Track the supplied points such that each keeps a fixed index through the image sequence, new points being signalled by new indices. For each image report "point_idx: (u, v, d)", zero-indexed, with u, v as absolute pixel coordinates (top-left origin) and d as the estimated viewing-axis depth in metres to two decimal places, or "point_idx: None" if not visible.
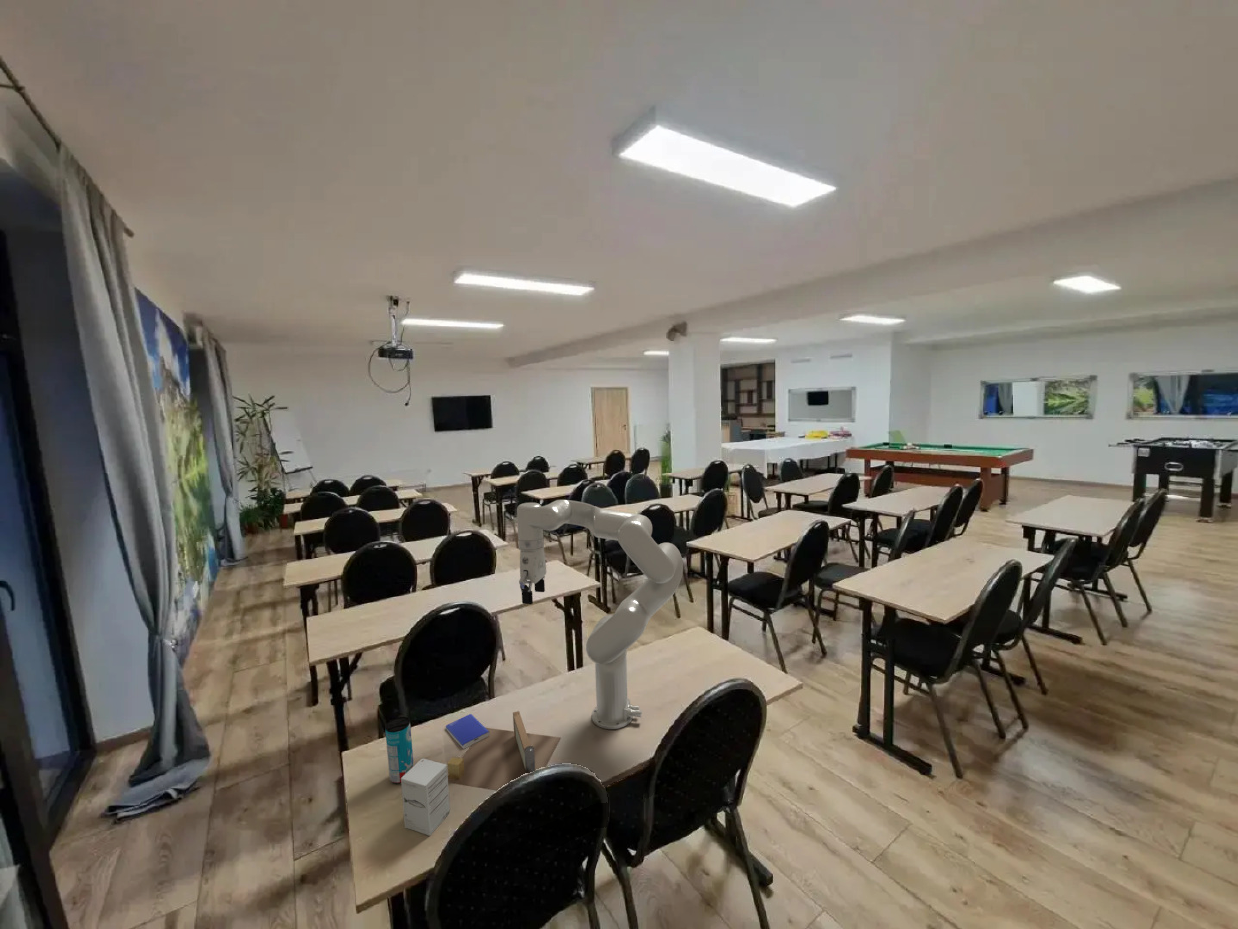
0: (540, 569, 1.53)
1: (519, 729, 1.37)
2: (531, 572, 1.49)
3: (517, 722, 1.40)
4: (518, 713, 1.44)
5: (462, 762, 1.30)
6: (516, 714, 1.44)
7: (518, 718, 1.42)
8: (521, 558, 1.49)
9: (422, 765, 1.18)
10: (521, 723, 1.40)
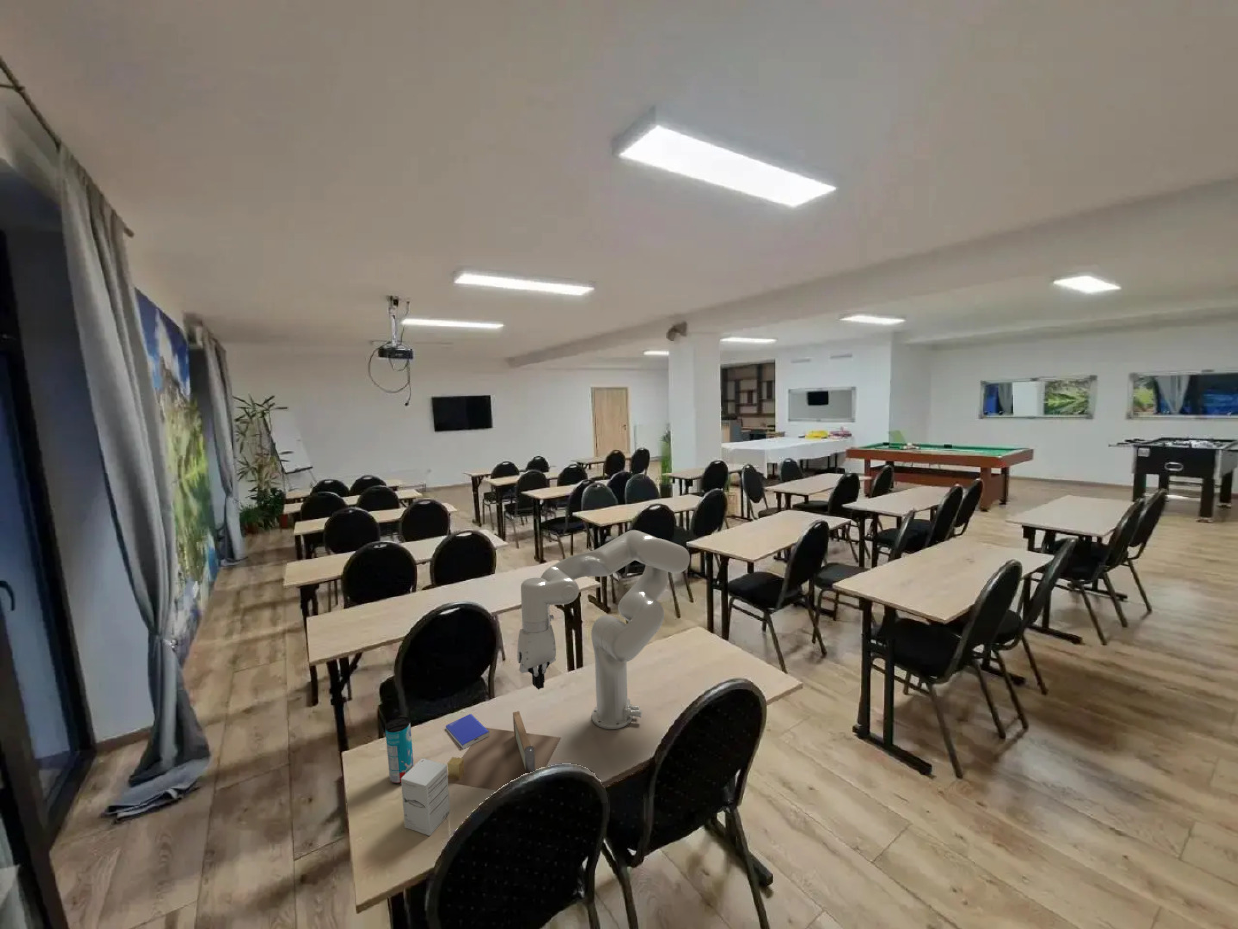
0: None
1: (519, 729, 1.37)
2: None
3: (517, 722, 1.40)
4: (518, 713, 1.44)
5: (462, 762, 1.30)
6: (516, 714, 1.44)
7: (518, 718, 1.42)
8: (553, 632, 1.40)
9: (422, 765, 1.18)
10: (521, 723, 1.40)
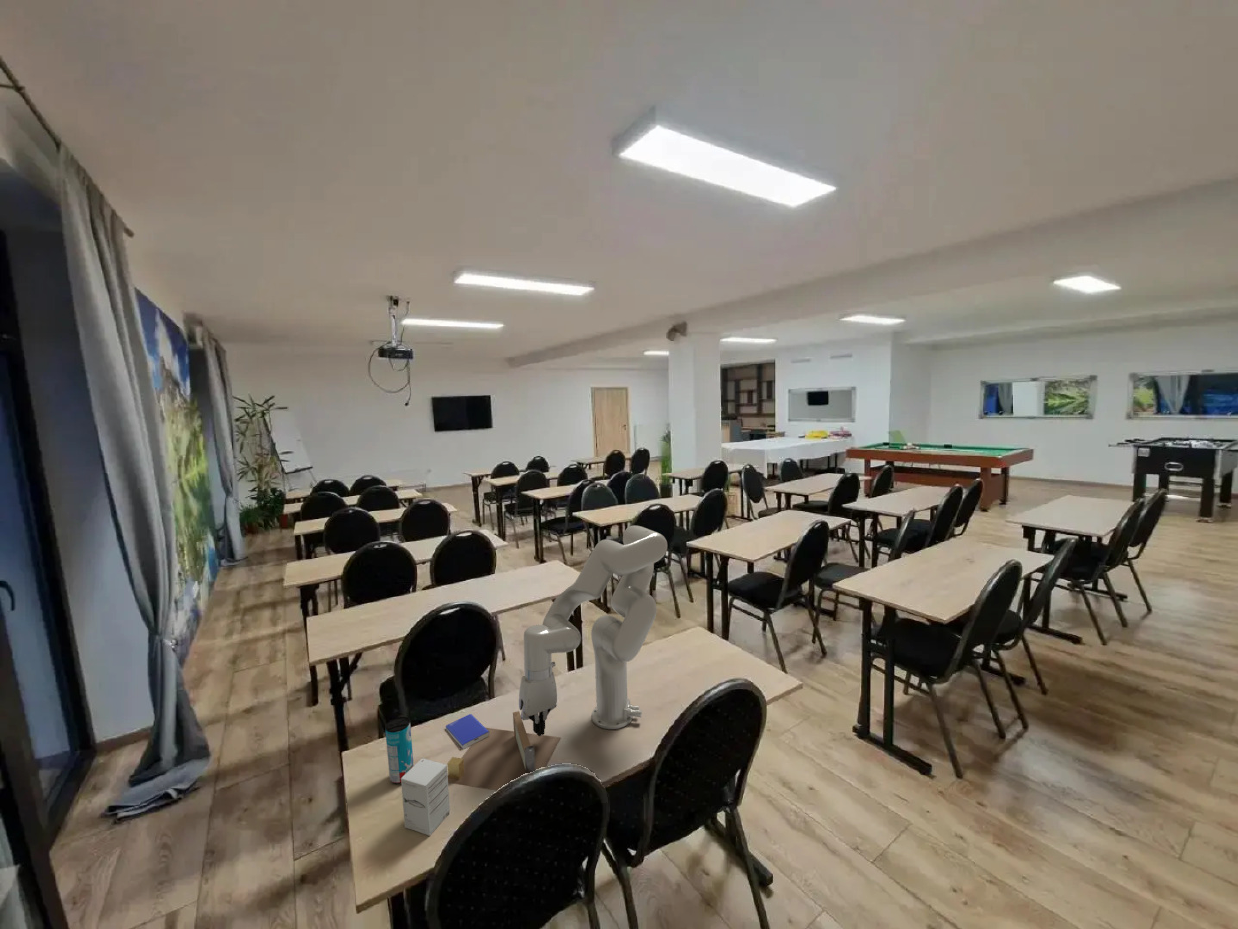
0: None
1: (519, 729, 1.37)
2: None
3: (517, 722, 1.40)
4: (518, 713, 1.44)
5: (462, 762, 1.30)
6: (516, 714, 1.44)
7: (518, 718, 1.42)
8: (554, 679, 1.42)
9: (422, 765, 1.18)
10: (521, 723, 1.40)
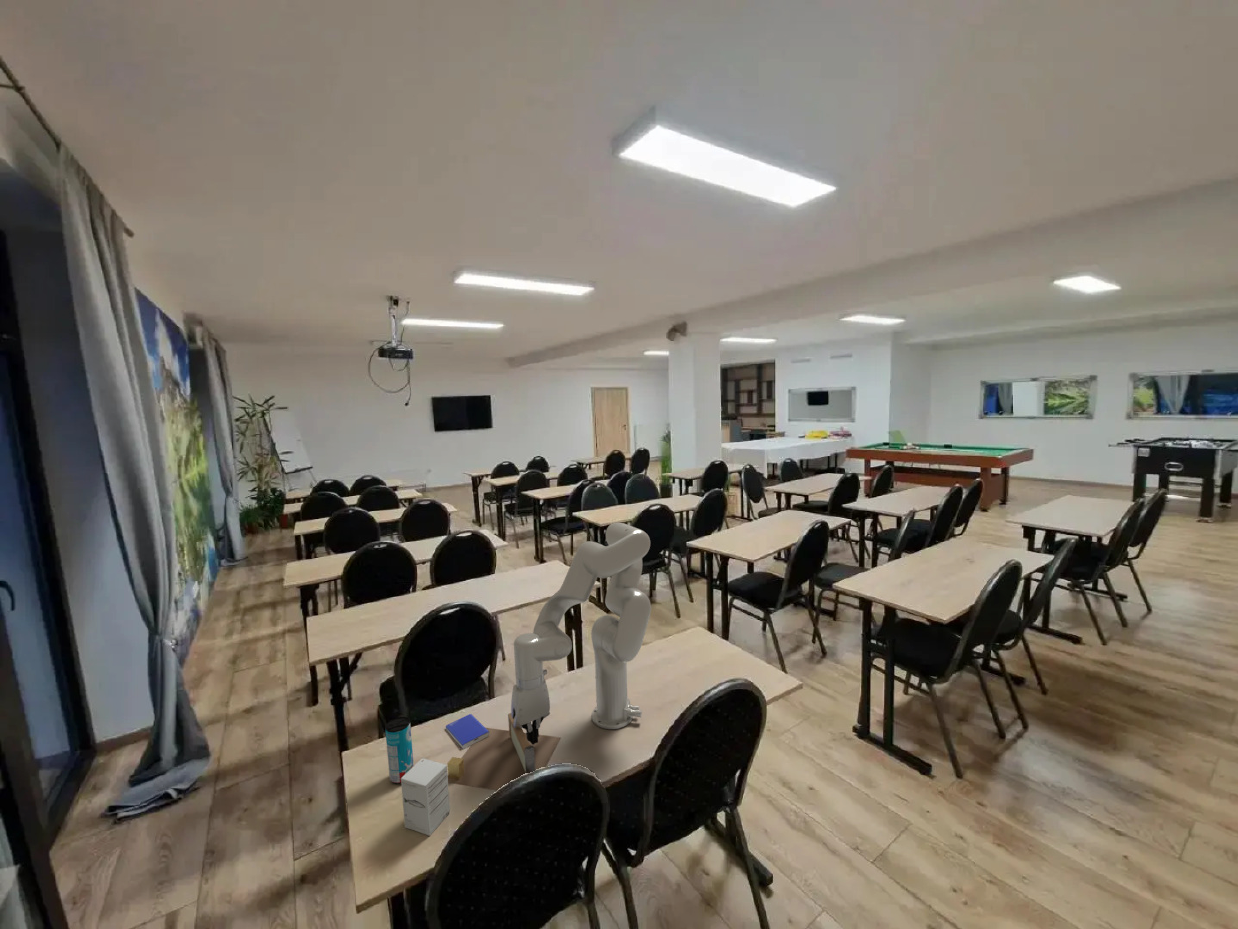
0: None
1: (516, 730, 1.37)
2: None
3: (513, 723, 1.40)
4: None
5: (462, 762, 1.30)
6: None
7: None
8: None
9: (422, 765, 1.18)
10: None
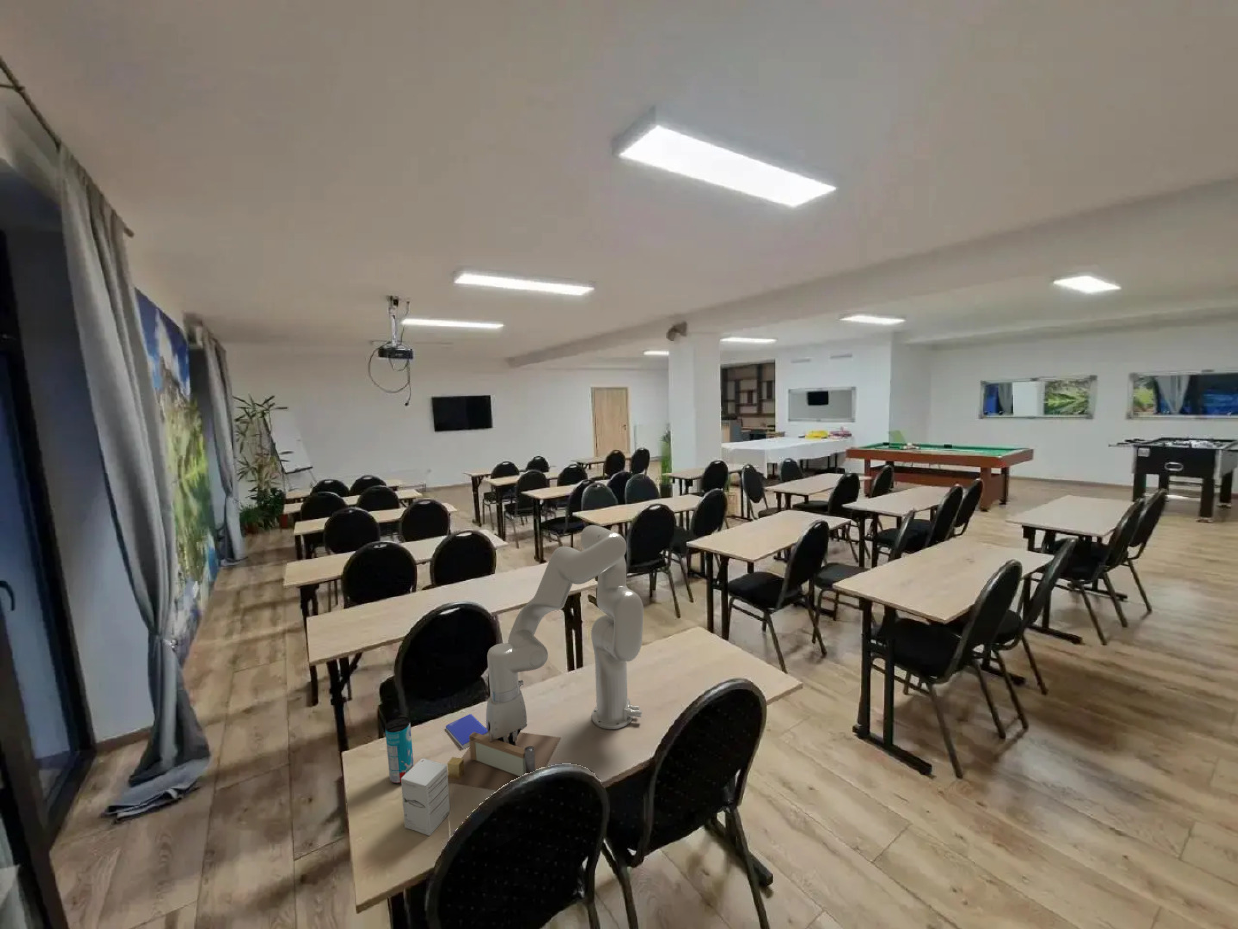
0: None
1: (494, 743, 1.32)
2: None
3: (485, 740, 1.33)
4: (476, 733, 1.36)
5: (462, 762, 1.30)
6: (475, 735, 1.35)
7: (481, 737, 1.34)
8: None
9: (422, 765, 1.18)
10: None
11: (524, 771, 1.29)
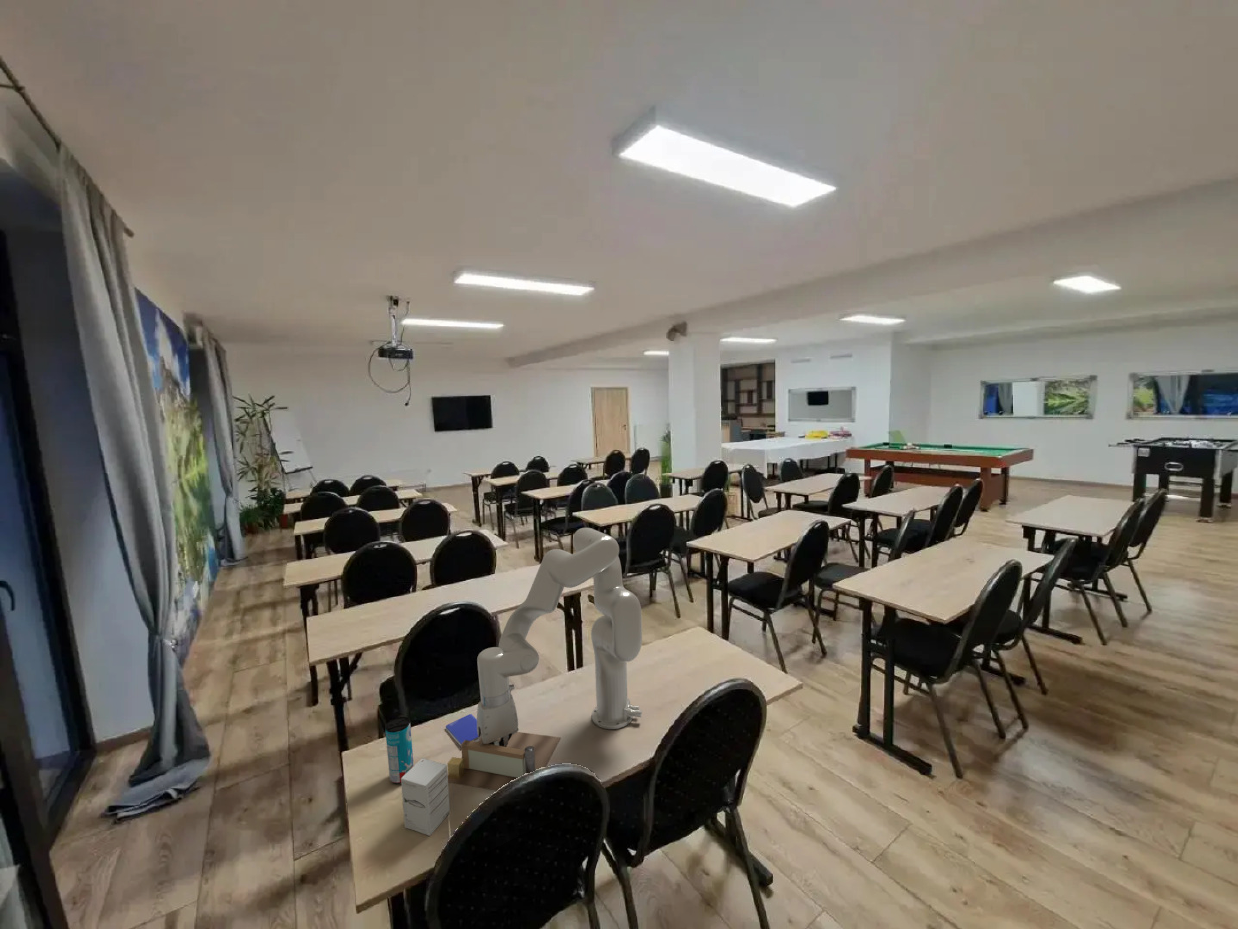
0: None
1: (490, 748, 1.30)
2: None
3: (479, 746, 1.31)
4: (468, 741, 1.33)
5: (462, 762, 1.30)
6: (467, 742, 1.32)
7: (474, 743, 1.32)
8: (514, 703, 1.34)
9: (422, 765, 1.18)
10: None
11: (523, 772, 1.28)
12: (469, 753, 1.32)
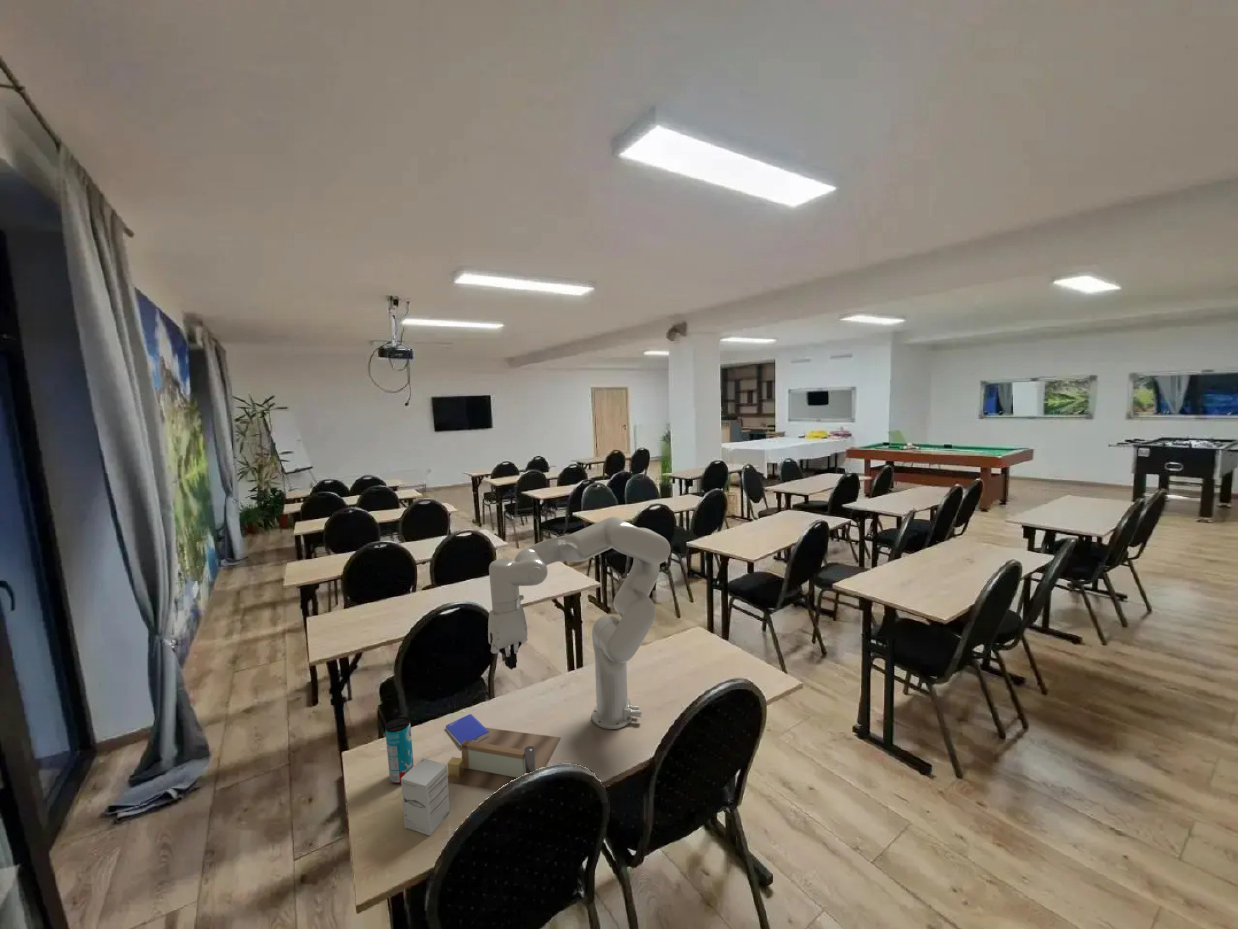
0: None
1: (490, 748, 1.30)
2: None
3: (479, 746, 1.31)
4: (468, 741, 1.33)
5: (462, 762, 1.30)
6: (467, 742, 1.32)
7: (474, 743, 1.32)
8: None
9: (422, 765, 1.18)
10: (484, 744, 1.31)
11: (523, 772, 1.28)
12: (469, 753, 1.32)
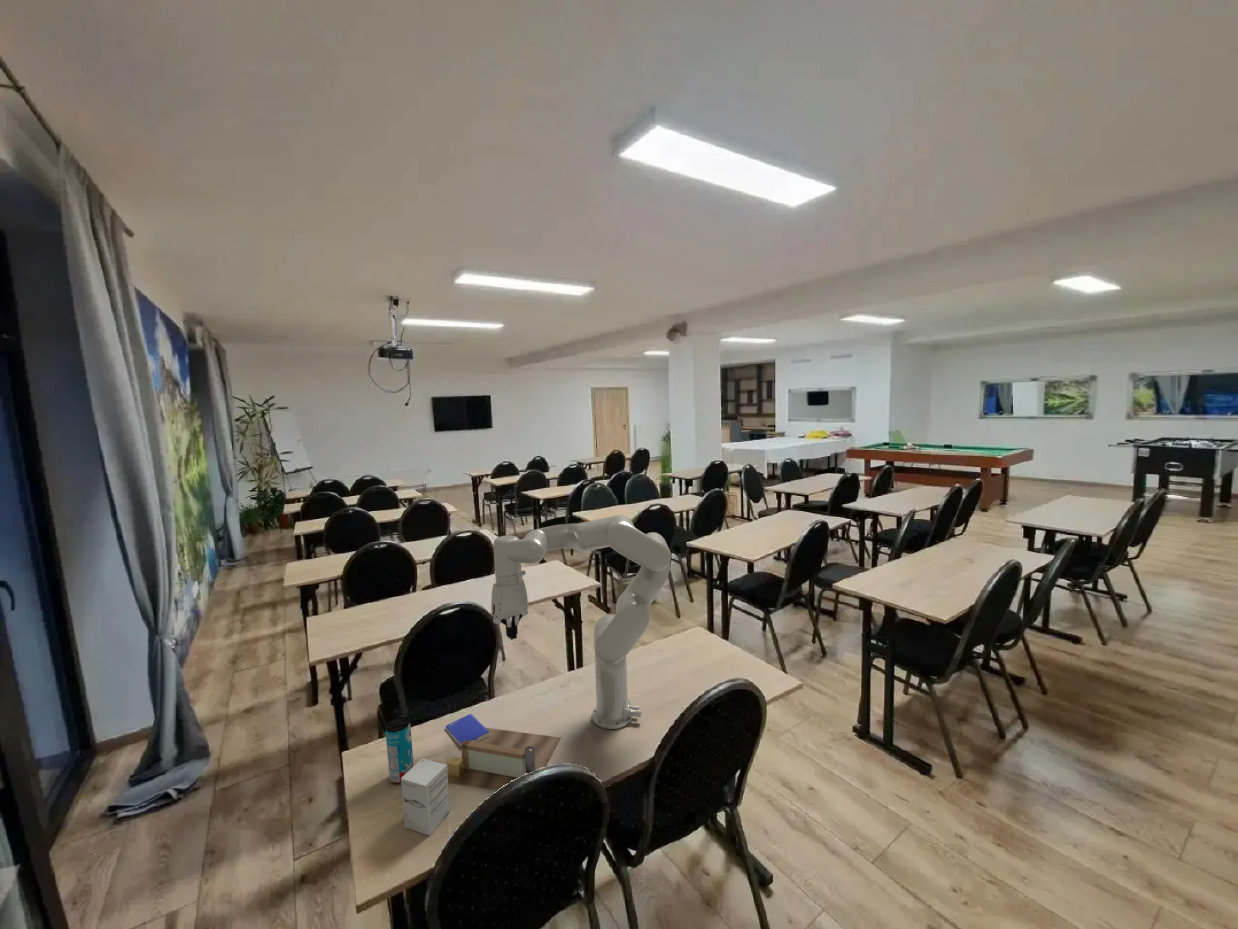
0: None
1: (490, 748, 1.30)
2: None
3: (479, 746, 1.31)
4: (468, 741, 1.33)
5: (462, 762, 1.30)
6: (467, 742, 1.32)
7: (474, 743, 1.32)
8: None
9: (422, 765, 1.18)
10: (484, 744, 1.31)
11: (523, 772, 1.28)
12: (469, 753, 1.32)
